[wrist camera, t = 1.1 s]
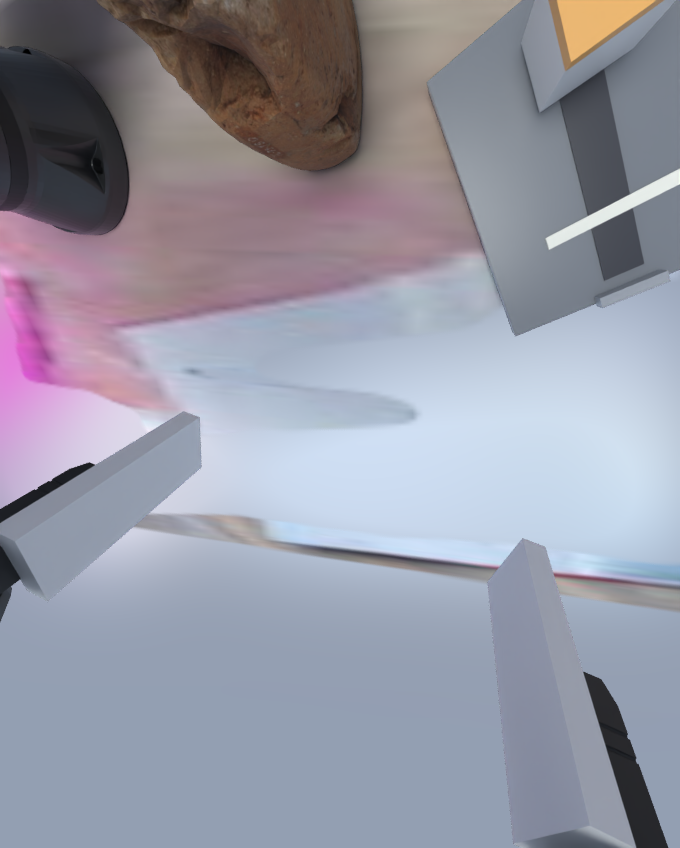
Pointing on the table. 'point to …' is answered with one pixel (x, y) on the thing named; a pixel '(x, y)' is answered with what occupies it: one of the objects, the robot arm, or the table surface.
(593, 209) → the console board
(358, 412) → the table surface
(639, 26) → the fader tab
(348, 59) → the brown rounded upright piece
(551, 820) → the robot arm
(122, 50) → the table surface
